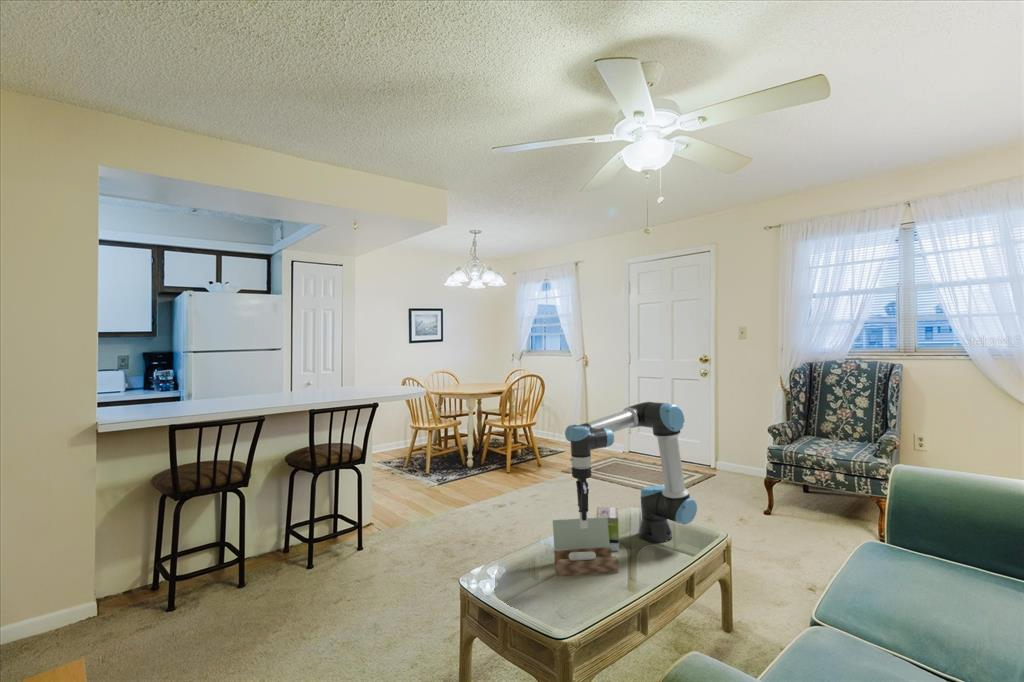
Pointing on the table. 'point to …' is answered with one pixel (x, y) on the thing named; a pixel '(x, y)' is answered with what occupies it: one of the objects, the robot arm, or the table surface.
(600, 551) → the tissue box
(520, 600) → the table surface
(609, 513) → the tea box
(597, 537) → the cover
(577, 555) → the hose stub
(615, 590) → the table surface
